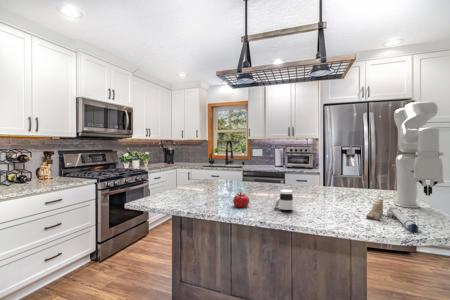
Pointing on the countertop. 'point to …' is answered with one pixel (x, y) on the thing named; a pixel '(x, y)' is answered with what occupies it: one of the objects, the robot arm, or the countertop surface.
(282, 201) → the spread jar
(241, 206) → the pomegranate
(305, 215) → the countertop surface
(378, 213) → the peg rack
